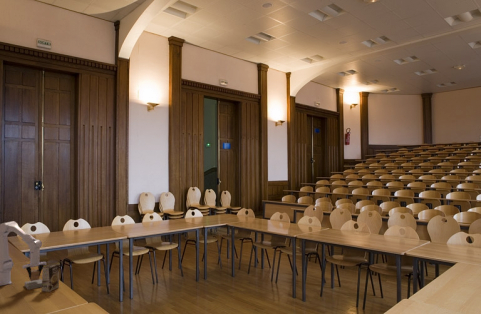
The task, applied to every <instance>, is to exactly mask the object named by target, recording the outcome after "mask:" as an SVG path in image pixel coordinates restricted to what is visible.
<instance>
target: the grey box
mask: <svg viewBox="0 0 481 314" xmlns="http://www.w3.org/2000/svg"><path fill="white" fill-rule="evenodd" d="M24 287H25V288H26V289H27V290H34V289H36V288H42V279H41V278H39V280H34V281H31V280H28V281H24Z"/></svg>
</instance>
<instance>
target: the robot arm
mask: <svg viewBox="0 0 481 314" xmlns="http://www.w3.org/2000/svg"><path fill="white" fill-rule="evenodd" d="M11 232H14V233H15V234H16V235H18V236H19V237H21V240H22V242H24V243H25V244H26V245H27V247H28V249H29V252H30V255H29V263H28V264H23V265H22V270H23V269H24V270H25V269H26V271H27V274H28V278H29V279H30V278H31V270H32V269H31V268H35V267H37V269H38V270H39V277H41V275H42V272H43V267H45V266H47V262H48V261H47V262H46V261H40V256H41V255H40V253H41V249H40V248H41V247H42V245H43V243H42V241H41V240H40V239H37V238H35V237H34V236H32V234H30V233H26V232H25V231H24V230H23V229H22V228H21V227H20V226H19V224H18V223H17V222H16V220H15V221H14V220H12V221H8V222H3V223H0V286H6V285H11V284H13V282H12V281H11V279H12V278H11V277H12V275H11V273H12V272H11V270H12V268H13V267H14V265H15V264H14V262H13V258H12V257H10V252H9V240H8V239H9V238H8V235H9V234H10V233H11Z"/></svg>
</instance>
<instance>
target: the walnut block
mask: <svg viewBox="0 0 481 314" xmlns="http://www.w3.org/2000/svg"><path fill="white" fill-rule="evenodd" d="M39 279H40V276H39V270H38V268H37V269H33V270H32V269H31V278H29V281H34V280H39Z"/></svg>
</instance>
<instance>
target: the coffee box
mask: <svg viewBox="0 0 481 314" xmlns="http://www.w3.org/2000/svg"><path fill="white" fill-rule="evenodd" d="M41 275H42V276H41V277H42V279H41V280H42V287H41V292H46V293H47V292H48V293H51V292H52V291H53V290H56V289H58V288H59V287H60V263H59V264H56V263H51V264H48V265H44V267H43V269H42V271H41Z"/></svg>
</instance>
